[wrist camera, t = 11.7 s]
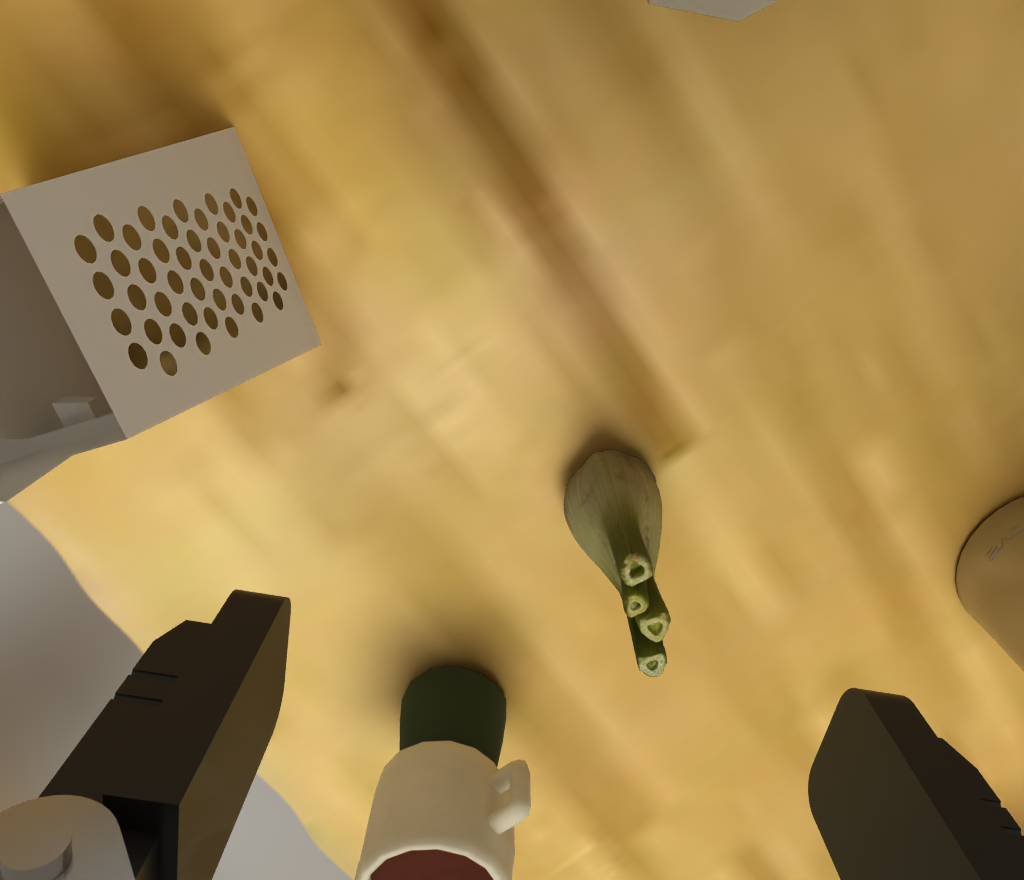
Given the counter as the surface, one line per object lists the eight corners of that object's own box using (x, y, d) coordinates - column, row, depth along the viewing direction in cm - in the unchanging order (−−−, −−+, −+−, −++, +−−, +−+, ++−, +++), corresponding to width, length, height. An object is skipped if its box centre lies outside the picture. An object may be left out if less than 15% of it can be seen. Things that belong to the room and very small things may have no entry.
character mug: (425, 779, 48) (394, 994, 36) (348, 708, 46) (288, 910, 34) (563, 693, 46) (579, 893, 33) (487, 614, 44) (475, 796, 31)
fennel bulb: (634, 545, 42) (676, 691, 31) (548, 525, 41) (559, 666, 30) (668, 451, 40) (726, 571, 29) (578, 429, 39) (602, 541, 28)
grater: (234, 126, 34) (-104, 106, 16) (321, 344, 38) (131, 539, 19) (27, 196, 35) (-516, 255, 17) (131, 401, 39) (-221, 637, 20)
